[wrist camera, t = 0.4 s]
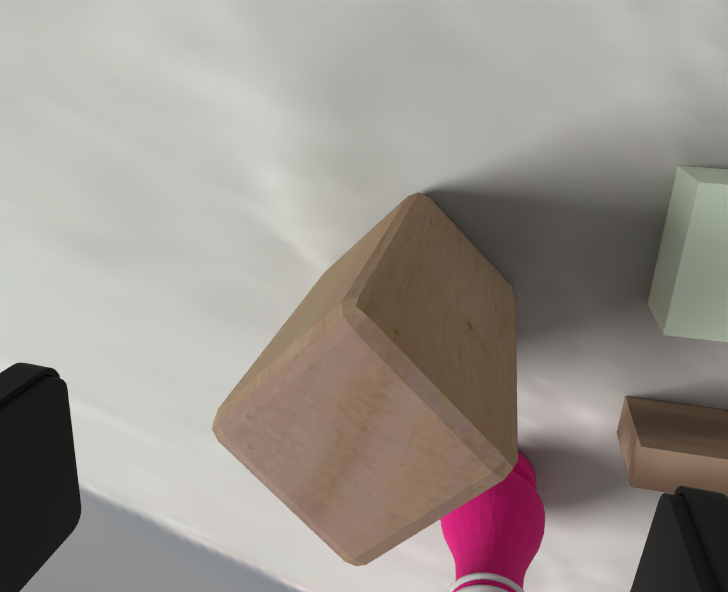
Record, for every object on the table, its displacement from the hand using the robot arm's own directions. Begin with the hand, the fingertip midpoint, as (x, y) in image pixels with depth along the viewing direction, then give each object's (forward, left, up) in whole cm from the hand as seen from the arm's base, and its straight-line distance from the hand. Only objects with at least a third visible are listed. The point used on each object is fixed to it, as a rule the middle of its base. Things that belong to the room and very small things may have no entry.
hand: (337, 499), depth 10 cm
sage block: (+5, +16, -34) cm, 38 cm away
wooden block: (+10, -3, -34) cm, 36 cm away
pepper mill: (+25, +4, -34) cm, 42 cm away
